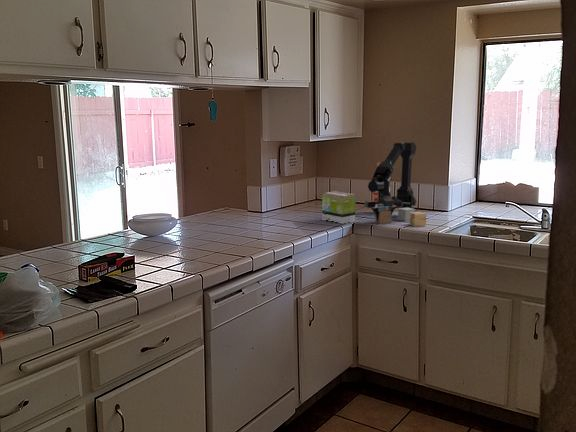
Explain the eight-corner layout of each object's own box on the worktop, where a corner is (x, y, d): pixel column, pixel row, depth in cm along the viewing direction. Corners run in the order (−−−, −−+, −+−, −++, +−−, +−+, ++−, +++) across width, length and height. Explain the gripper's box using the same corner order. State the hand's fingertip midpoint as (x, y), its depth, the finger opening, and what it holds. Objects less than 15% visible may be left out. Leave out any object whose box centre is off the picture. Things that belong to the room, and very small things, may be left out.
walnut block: (375, 221, 300) (375, 210, 299) (386, 220, 301) (386, 209, 300) (379, 223, 294) (379, 211, 293) (390, 223, 295) (391, 211, 294)
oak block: (409, 224, 292) (409, 212, 291) (420, 223, 293) (421, 211, 292) (414, 226, 286) (415, 214, 285) (426, 225, 288) (426, 213, 286)
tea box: (321, 220, 304) (321, 192, 301) (334, 218, 310) (334, 190, 308) (342, 224, 293) (342, 195, 290) (355, 221, 299) (356, 193, 297)
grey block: (398, 219, 304) (398, 208, 303) (407, 218, 307) (407, 207, 306) (405, 221, 299) (405, 210, 298) (414, 220, 302) (414, 209, 301)
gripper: (371, 192, 285) (371, 224, 287) (407, 191, 289) (406, 222, 291) (364, 189, 295) (363, 220, 298) (398, 188, 299) (397, 218, 302)
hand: (383, 220), depth 297 cm, fingers closed on walnut block, 6 cm apart
